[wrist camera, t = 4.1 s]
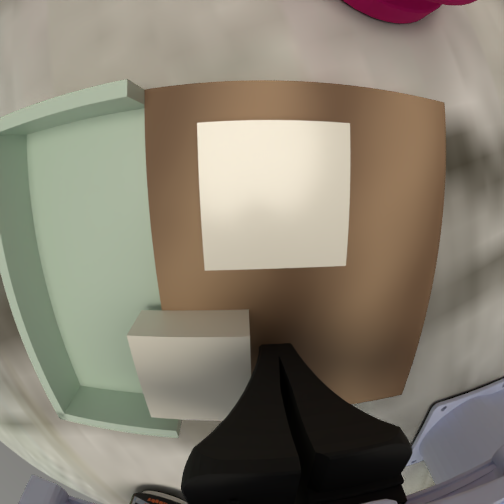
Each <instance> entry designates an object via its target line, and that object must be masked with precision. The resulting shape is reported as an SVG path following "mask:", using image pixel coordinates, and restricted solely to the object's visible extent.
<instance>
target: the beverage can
mask: <svg viewBox="0 0 504 504" xmlns="http://www.w3.org/2000/svg"><path fill="white" fill-rule="evenodd" d="M130 504H188V503H187V502H185V501H183V500H181V499H179V498H176V497H173V496H171V495H167V494H164V493H160V492H156V491H144V492H142V493H135V494H133V496H132V499H131V501H130Z"/></svg>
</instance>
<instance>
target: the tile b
mask: <svg viewBox="0 0 504 504" xmlns="http://www.w3.org/2000/svg"><path fill="white" fill-rule="evenodd" d="M197 140H198V168H199V190H200V209H201V226H202V241H203V255H204V267H205V271H211V270H247V269H278V268H306V267H331V266H346V258H347V244H348V227H349V205H350V123H340V122H324V121H301V120H240V121H217V122H201V123H197Z"/></svg>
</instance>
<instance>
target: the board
mask: <svg viewBox="0 0 504 504" xmlns="http://www.w3.org/2000/svg"><path fill="white" fill-rule="evenodd" d="M144 114H145V153H146V173H147V188H148V201H149V213H150V224H151V234H152V243H153V251H154V259H155V267H156V274H157V282H158V288H159V295H160V301H161V308H162V310H172V311H184V310H248V309H249V328H250V356H251V376H252V373H253V370H254V368H255V365H256V362H257V358H258V353H259V346H260V345H262V344H283V343H291V344H292V345H293V347H294V348H295V350H296V351H297V353H298V354H299V355H300V357H301V358H302V359H303V361H304V362H305V363H306V364H307V366H308V367H309V368H310V369H311V370H312V371H313V372H314V374H315V375H316V376H317V377H318V378H319V379H320V380H321V381H322V382H323V383H324V384H325V385H326V386H327V387H329V388H330V389H331V390H332V391H333V392H334V393H336V394H337V395H338V396H339V397H341V398H342V399H343V400H345V401H346V402H348V403H349V404H355V403H361V402H367V401H373V400H378V399H383V398H388V397H393V396H397V395H402V392H403V390H404V387H405V384H406V381H407V378H408V375H409V372H410V369H411V366H412V363H413V360H414V356H415V353H416V350H417V346H418V343H419V339H420V336H421V332H422V328H423V324H424V320H425V316H426V312H427V308H428V303H429V299H430V294H431V289H432V284H433V279H434V273H435V268H436V262H437V256H438V249H439V242H440V234H441V225H442V216H443V205H444V191H445V170H446V126H445V106H444V103H443V102H439V101H435V100H431V99H427V98H422V97H418V96H413V95H408V94H403V93H397V92H392V91H386V90H380V89H373V88H366V87H358V86H350V85H341V84H330V83H318V82H301V81H225V82H208V83H196V84H185V85H176V86H168V87H160V88H153V89H146V90H145V93H144ZM240 120H301V121H324V122H340V123H350V205H349V227H348V244H347V258H346V266H331V267H306V268H278V269H247V270H211V271H205V267H204V255H203V241H202V226H201V209H200V190H199V168H198V140H197V123H201V122H217V121H240Z"/></svg>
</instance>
